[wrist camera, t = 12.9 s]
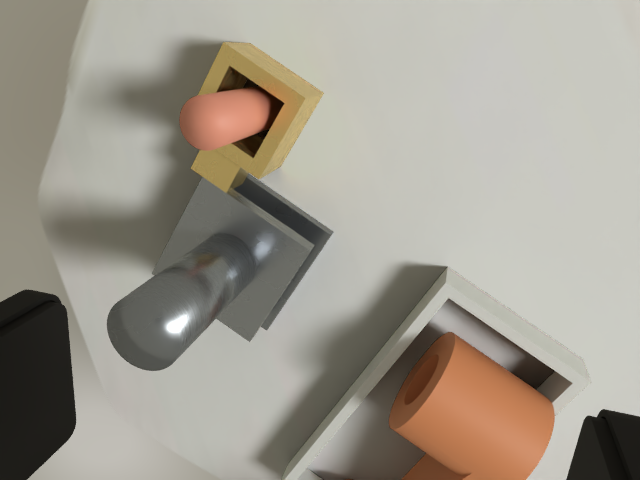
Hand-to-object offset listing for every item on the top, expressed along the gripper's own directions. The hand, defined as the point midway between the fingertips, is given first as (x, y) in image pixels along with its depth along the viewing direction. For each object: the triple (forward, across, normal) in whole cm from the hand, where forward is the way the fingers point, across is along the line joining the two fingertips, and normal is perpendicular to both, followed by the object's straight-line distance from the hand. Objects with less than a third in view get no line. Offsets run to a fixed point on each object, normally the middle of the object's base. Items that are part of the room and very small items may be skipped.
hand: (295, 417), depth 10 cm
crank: (+31, -3, +23) cm, 38 cm away
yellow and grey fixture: (+30, +12, +5) cm, 33 cm away
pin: (+30, +12, -1) cm, 32 cm away
